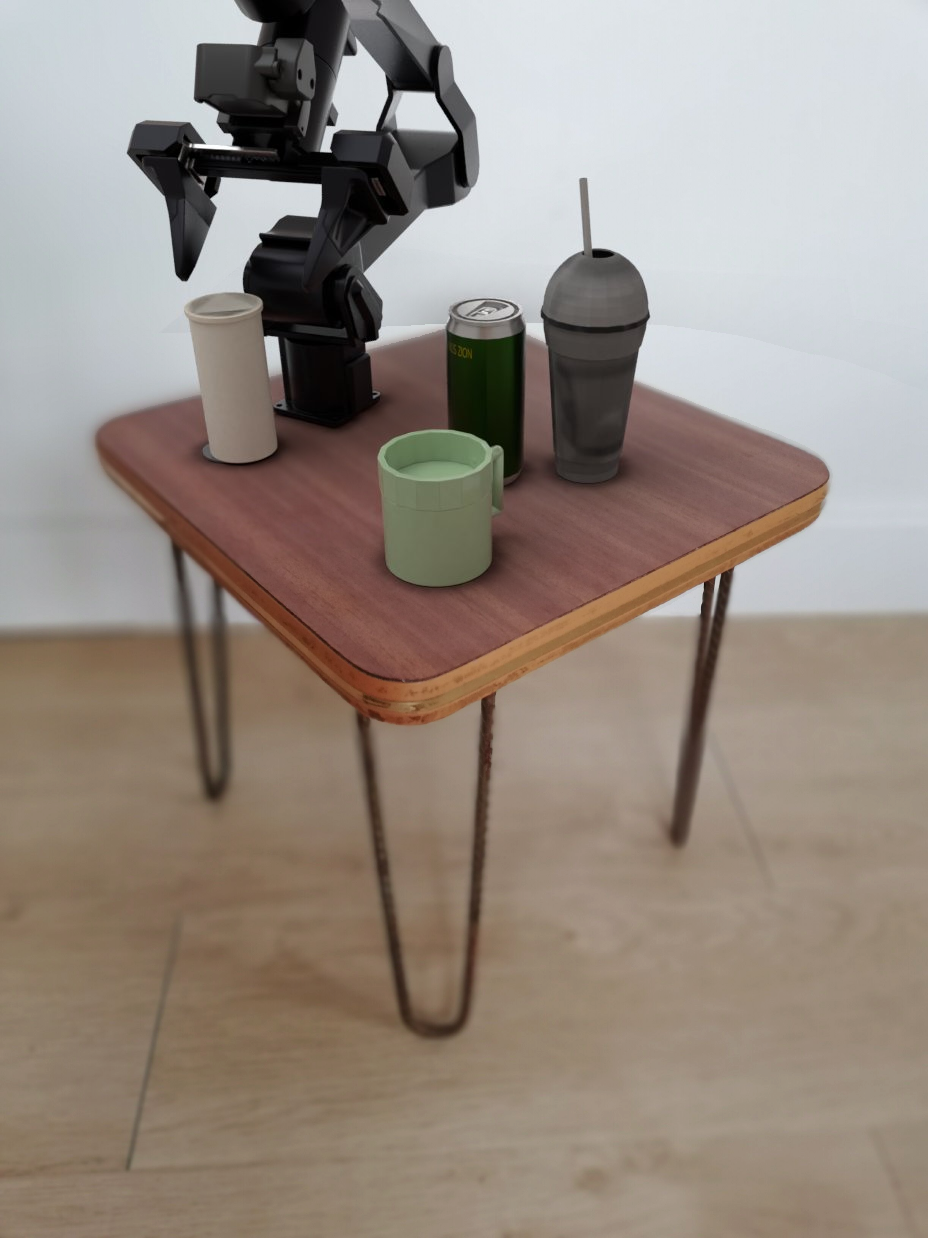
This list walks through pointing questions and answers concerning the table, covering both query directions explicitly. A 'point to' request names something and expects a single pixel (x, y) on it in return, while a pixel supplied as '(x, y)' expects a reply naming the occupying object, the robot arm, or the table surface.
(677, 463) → the table surface
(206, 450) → the coaster
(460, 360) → the beer can
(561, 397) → the beverage cup
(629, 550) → the table surface
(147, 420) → the table surface
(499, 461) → the mug
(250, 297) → the paper cup
